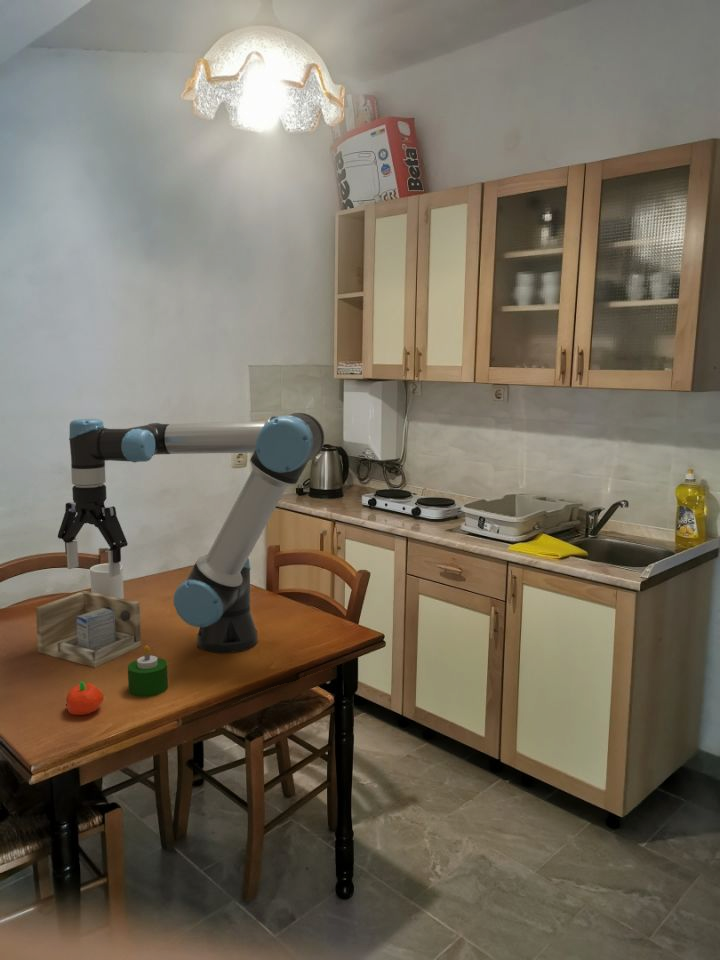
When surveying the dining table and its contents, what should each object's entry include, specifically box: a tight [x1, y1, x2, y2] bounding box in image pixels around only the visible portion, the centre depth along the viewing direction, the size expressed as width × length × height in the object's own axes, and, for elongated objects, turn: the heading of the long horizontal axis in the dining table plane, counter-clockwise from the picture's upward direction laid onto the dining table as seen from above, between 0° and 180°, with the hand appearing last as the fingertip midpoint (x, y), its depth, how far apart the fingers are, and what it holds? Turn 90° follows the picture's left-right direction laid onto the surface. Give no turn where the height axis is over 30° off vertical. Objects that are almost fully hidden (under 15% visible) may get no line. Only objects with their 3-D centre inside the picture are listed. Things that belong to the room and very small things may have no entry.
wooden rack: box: [35, 590, 142, 668], centre depth 183 cm, size 19×15×12 cm
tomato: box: [65, 680, 104, 716], centre depth 151 cm, size 7×8×6 cm
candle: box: [127, 644, 169, 698], centre depth 162 cm, size 8×8×10 cm
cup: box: [89, 562, 125, 599], centre depth 200 cm, size 8×8×16 cm
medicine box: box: [76, 608, 116, 651], centre depth 180 cm, size 8×4×9 cm, turn 145°
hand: (93, 571), depth 178 cm, fingers open, 13 cm apart
